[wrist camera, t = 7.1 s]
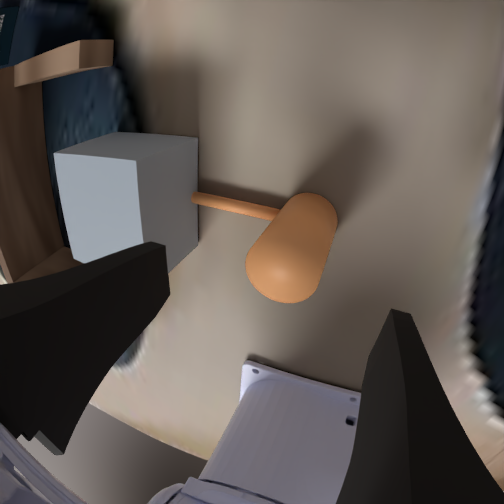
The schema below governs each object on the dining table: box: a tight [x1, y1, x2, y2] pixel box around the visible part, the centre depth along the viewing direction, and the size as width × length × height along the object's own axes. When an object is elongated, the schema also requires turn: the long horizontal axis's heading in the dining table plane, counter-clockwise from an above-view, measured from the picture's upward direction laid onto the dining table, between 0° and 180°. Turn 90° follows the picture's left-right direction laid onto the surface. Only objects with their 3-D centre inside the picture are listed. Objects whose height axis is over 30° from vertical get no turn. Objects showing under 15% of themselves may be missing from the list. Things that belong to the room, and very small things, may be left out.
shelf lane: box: [0, 40, 114, 284], centre depth 16 cm, size 10×17×6 cm, turn 176°
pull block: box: [54, 132, 338, 303], centre depth 14 cm, size 13×6×4 cm, turn 85°
